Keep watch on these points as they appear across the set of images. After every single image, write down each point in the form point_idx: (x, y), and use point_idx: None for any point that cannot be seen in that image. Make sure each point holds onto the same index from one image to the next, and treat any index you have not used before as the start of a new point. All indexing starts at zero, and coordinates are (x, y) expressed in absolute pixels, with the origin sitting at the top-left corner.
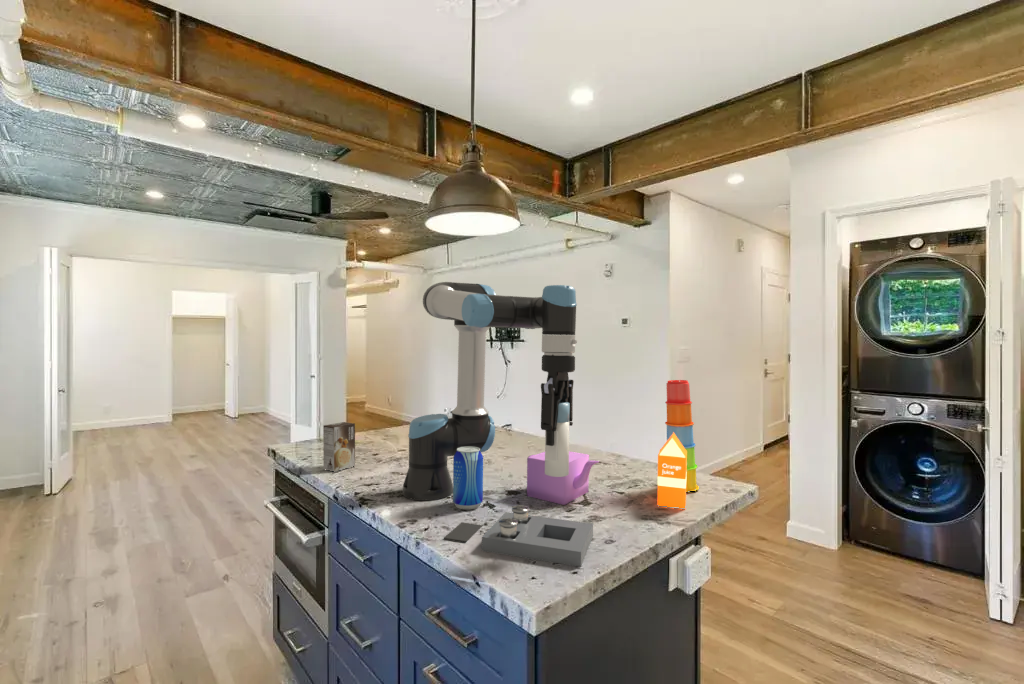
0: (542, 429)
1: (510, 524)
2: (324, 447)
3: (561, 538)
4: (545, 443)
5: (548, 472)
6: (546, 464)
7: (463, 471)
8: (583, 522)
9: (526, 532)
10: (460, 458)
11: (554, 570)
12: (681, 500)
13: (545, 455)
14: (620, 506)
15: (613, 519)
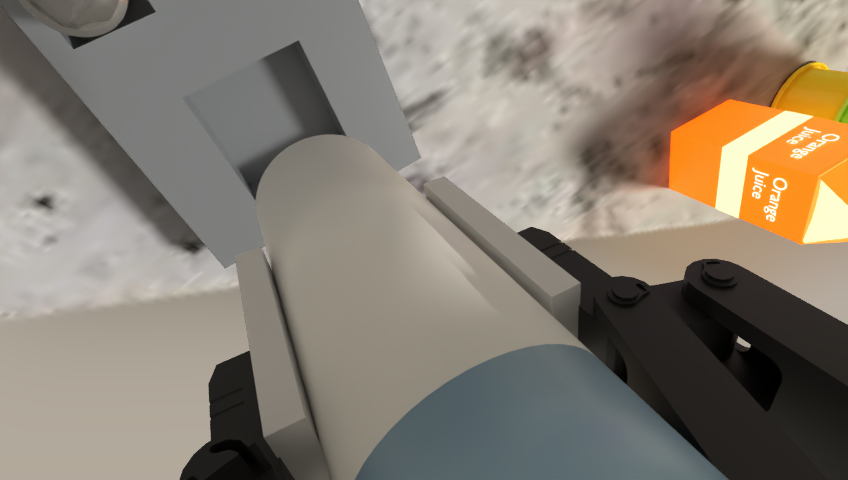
0: (199, 464)
1: (57, 18)
2: None
3: (319, 94)
4: (247, 330)
5: (257, 214)
6: (266, 213)
7: None
8: (409, 132)
9: (172, 39)
10: None
11: (146, 208)
12: (687, 188)
13: (237, 271)
14: (639, 58)
15: (548, 102)
